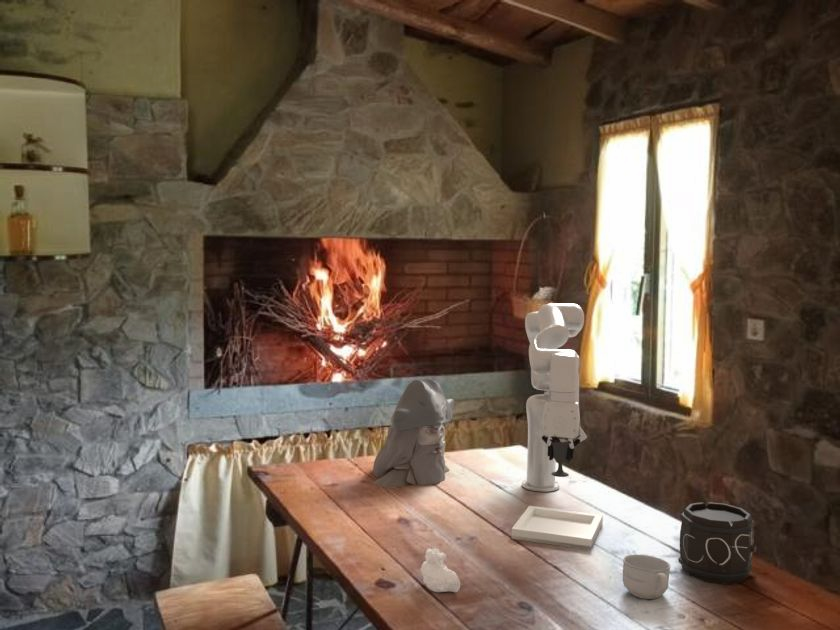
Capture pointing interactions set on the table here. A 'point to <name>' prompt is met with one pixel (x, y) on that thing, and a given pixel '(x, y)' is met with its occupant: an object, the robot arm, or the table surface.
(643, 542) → the table surface
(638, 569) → the teacup
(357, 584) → the table surface
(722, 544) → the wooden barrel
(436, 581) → the cream lumpy figure
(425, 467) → the bust
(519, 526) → the tray
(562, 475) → the sundae
